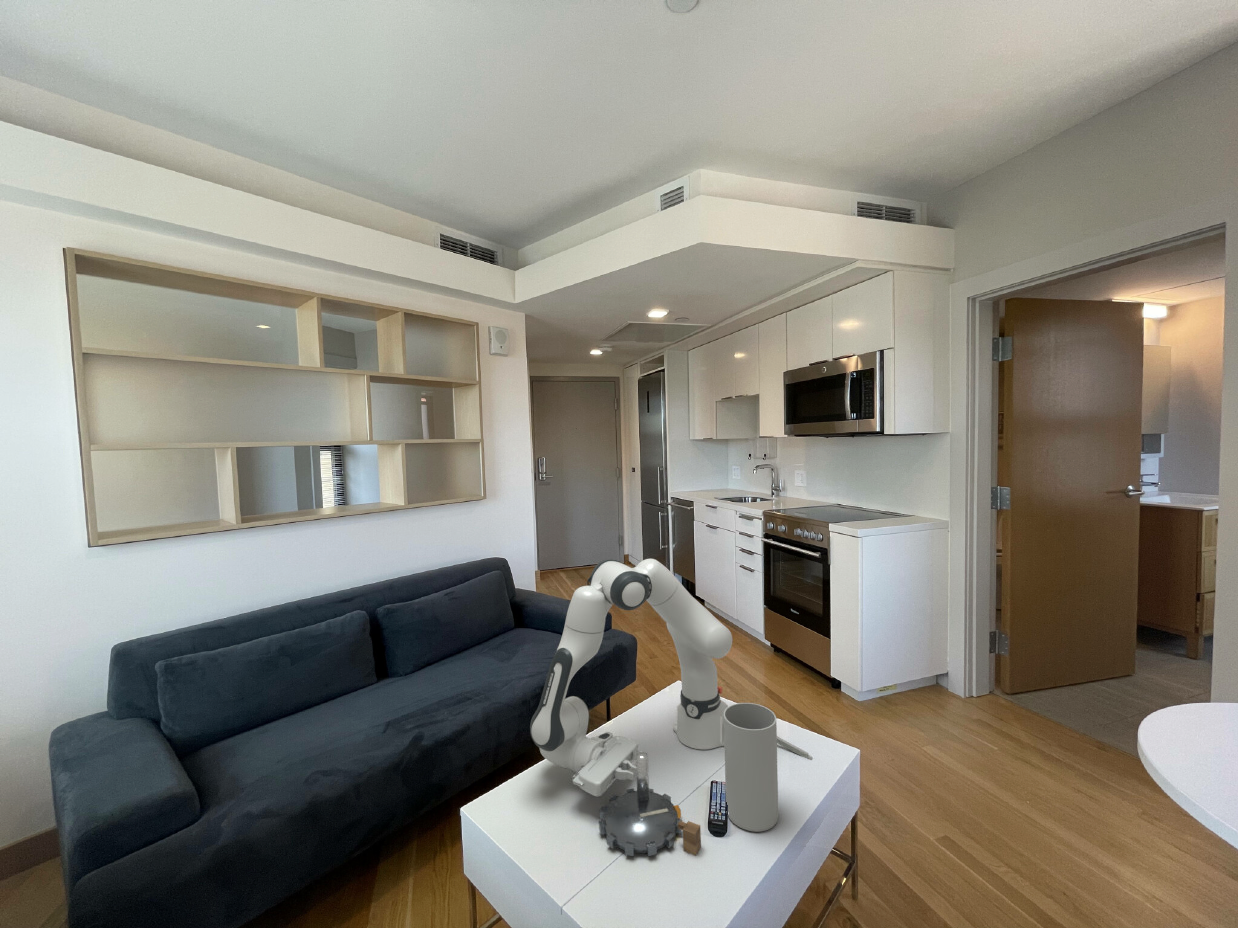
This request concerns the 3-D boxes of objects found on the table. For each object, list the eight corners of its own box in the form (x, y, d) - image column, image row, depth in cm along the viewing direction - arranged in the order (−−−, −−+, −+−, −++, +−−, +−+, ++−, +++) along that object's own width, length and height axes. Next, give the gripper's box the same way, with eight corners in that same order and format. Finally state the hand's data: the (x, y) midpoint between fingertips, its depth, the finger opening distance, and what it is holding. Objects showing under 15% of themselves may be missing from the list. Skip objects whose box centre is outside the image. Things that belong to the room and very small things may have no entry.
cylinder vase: (787, 811, 128) (785, 713, 127) (764, 842, 119) (761, 736, 118) (741, 790, 137) (739, 697, 136) (716, 816, 127) (713, 718, 126)
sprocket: (626, 785, 139) (624, 739, 138) (695, 811, 128) (693, 761, 128) (583, 834, 122) (580, 782, 121) (658, 869, 111) (656, 811, 111)
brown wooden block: (682, 838, 121) (681, 817, 121) (700, 846, 118) (700, 825, 118) (676, 847, 118) (675, 826, 118) (695, 855, 116) (695, 834, 116)
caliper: (745, 736, 161) (744, 717, 161) (746, 735, 162) (746, 715, 162) (811, 760, 148) (811, 739, 148) (812, 758, 149) (812, 737, 149)
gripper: (567, 768, 131) (613, 786, 124) (611, 728, 148) (654, 741, 141) (568, 792, 131) (614, 811, 124) (612, 749, 148) (654, 764, 141)
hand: (636, 774), depth 132 cm, fingers closed
